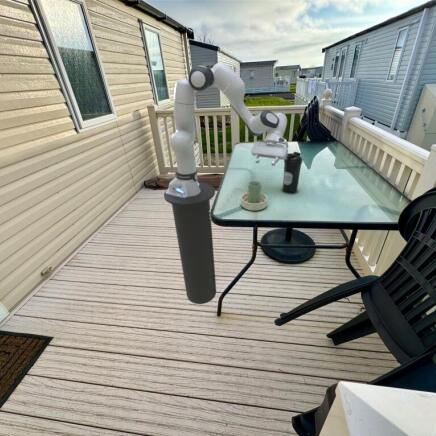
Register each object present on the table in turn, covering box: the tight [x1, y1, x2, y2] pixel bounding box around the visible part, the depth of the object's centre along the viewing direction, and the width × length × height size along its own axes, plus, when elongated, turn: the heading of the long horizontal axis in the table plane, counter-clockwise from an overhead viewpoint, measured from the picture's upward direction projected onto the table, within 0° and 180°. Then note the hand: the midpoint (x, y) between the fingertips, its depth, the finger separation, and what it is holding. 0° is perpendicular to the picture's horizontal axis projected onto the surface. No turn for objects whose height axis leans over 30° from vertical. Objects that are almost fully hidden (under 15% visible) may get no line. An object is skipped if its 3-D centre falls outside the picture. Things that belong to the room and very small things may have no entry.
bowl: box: [240, 192, 268, 212], centre depth 133 cm, size 14×14×4 cm
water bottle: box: [282, 151, 304, 195], centre depth 143 cm, size 10×10×23 cm
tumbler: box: [247, 180, 262, 204], centre depth 131 cm, size 7×7×12 cm
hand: (264, 164), depth 133 cm, fingers open, 8 cm apart
